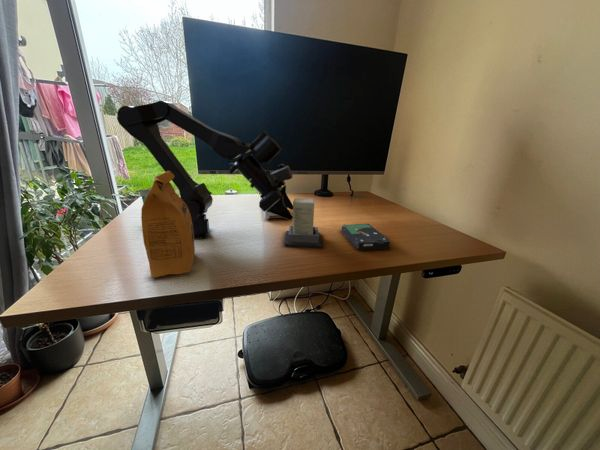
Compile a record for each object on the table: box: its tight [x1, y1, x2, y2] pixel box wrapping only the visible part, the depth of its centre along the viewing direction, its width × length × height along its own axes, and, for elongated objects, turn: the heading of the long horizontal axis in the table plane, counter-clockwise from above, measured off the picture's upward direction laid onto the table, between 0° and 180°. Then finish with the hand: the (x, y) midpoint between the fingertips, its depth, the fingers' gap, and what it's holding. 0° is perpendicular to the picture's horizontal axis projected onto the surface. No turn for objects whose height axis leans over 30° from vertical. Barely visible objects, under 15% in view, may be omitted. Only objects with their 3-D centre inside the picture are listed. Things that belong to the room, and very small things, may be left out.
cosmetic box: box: [292, 197, 315, 235], centre depth 73 cm, size 6×4×12 cm
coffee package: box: [140, 171, 196, 279], centre depth 55 cm, size 10×12×22 cm
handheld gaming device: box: [262, 210, 288, 220], centre depth 97 cm, size 9×15×4 cm, turn 12°
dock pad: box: [284, 225, 323, 249], centre depth 75 cm, size 10×11×3 cm
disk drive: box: [341, 223, 391, 251], centre depth 78 cm, size 10×3×15 cm
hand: (292, 213), depth 73 cm, fingers open, 9 cm apart
